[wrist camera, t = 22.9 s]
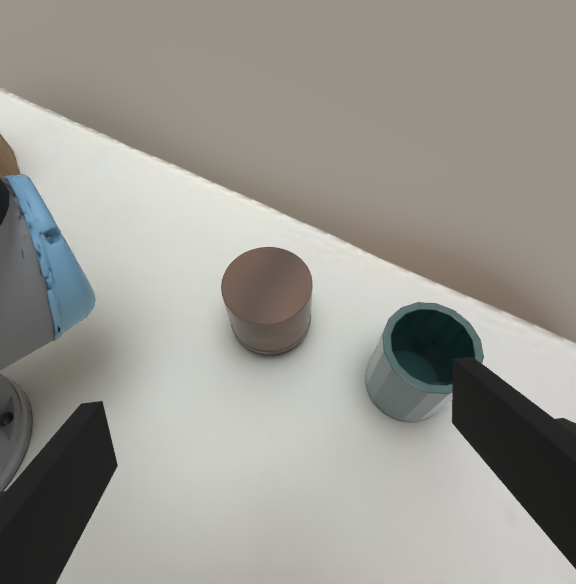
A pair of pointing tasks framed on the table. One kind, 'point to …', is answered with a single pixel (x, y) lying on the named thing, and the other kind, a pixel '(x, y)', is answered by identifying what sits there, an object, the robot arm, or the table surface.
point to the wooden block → (7, 160)
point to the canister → (419, 360)
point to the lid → (268, 299)
